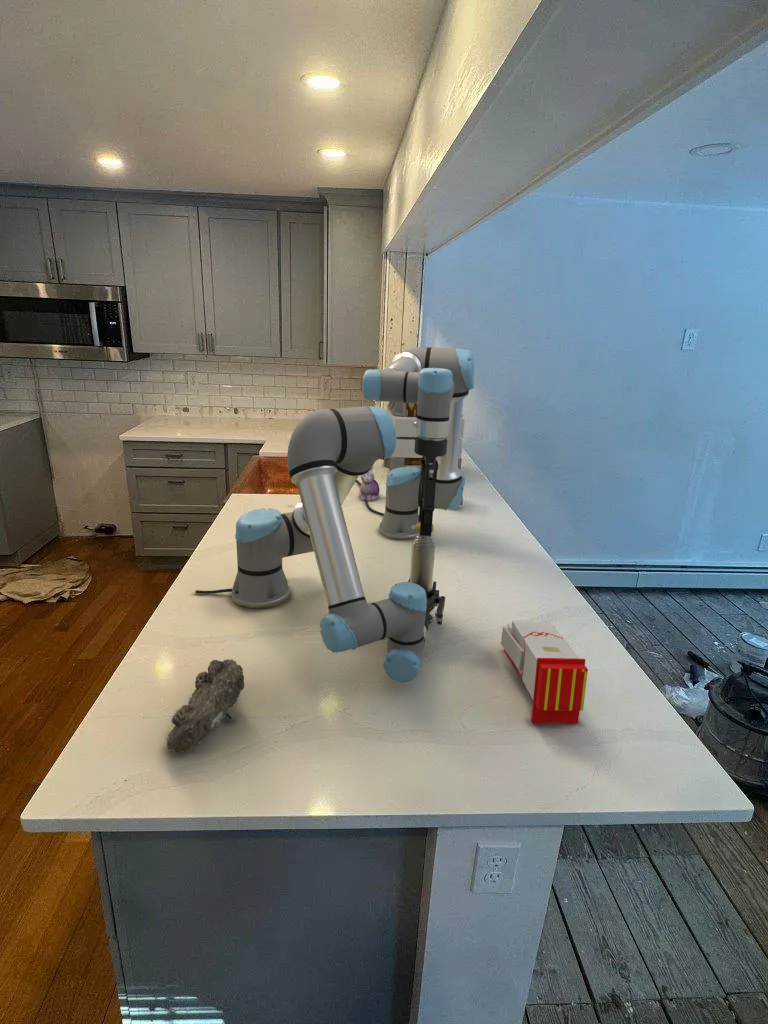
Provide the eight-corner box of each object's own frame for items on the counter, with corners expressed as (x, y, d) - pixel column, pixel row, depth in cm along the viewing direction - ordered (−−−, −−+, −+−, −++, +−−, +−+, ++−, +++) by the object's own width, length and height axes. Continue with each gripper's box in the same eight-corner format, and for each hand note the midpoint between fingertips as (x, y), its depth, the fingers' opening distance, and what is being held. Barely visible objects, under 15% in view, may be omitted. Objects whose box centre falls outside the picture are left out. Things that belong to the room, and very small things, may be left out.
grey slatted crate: (382, 463, 289) (386, 382, 275) (445, 464, 293) (451, 384, 279) (390, 482, 257) (394, 392, 243) (460, 483, 261) (468, 394, 247)
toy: (547, 606, 135) (596, 665, 106) (541, 658, 138) (589, 729, 108) (496, 604, 134) (532, 664, 105) (492, 657, 137) (526, 729, 108)
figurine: (364, 502, 230) (365, 466, 225) (353, 495, 238) (354, 460, 233) (384, 500, 234) (386, 464, 229) (373, 492, 242) (375, 458, 237)
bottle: (406, 620, 145) (411, 529, 136) (408, 609, 150) (414, 521, 142) (428, 622, 144) (435, 531, 136) (430, 611, 149) (437, 523, 141)
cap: (430, 535, 137) (430, 528, 136) (413, 531, 138) (414, 525, 137) (435, 529, 140) (435, 523, 140) (419, 526, 142) (419, 520, 141)
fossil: (192, 660, 117) (244, 628, 112) (224, 691, 120) (276, 661, 115) (142, 746, 98) (202, 712, 93) (182, 779, 101) (242, 748, 96)
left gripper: (369, 639, 131) (386, 593, 153) (450, 650, 128) (456, 601, 150) (370, 610, 128) (388, 567, 150) (453, 621, 126) (459, 576, 147)
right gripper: (413, 428, 140) (408, 515, 148) (417, 446, 122) (410, 544, 130) (443, 429, 140) (436, 516, 148) (451, 447, 122) (443, 546, 130)
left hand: (422, 584), depth 150 cm, fingers closed on bottle, 6 cm apart
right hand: (424, 529), depth 139 cm, fingers open, 6 cm apart
